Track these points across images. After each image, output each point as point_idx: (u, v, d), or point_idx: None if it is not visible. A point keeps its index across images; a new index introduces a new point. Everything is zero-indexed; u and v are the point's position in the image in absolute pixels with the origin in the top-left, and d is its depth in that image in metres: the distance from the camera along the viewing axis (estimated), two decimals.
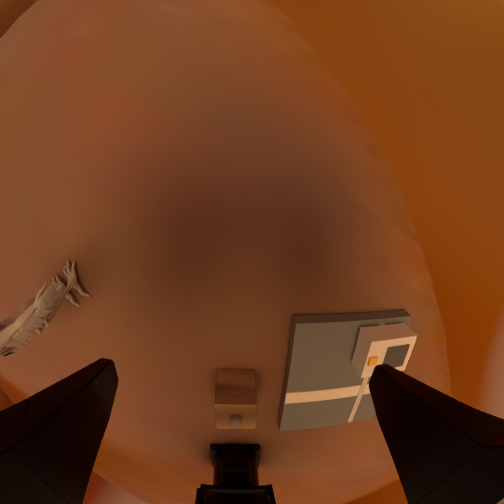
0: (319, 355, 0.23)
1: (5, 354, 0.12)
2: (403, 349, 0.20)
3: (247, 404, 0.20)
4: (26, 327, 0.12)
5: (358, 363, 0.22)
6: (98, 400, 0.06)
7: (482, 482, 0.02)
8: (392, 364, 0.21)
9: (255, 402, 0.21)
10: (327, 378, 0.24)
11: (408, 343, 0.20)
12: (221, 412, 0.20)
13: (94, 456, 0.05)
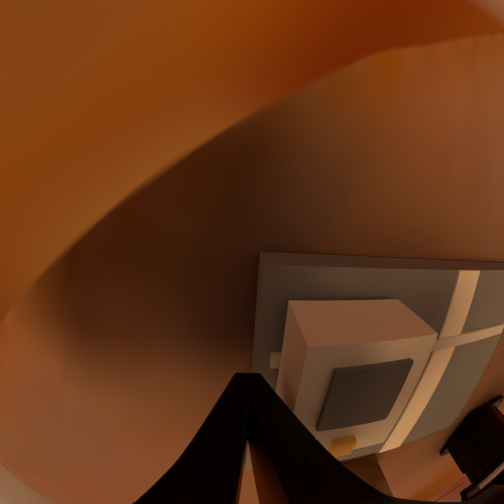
0: None
1: None
2: (344, 389, 0.06)
3: None
4: None
5: None
6: (248, 419, 0.06)
7: None
8: (386, 398, 0.06)
9: None
10: None
11: (329, 372, 0.06)
12: None
13: None
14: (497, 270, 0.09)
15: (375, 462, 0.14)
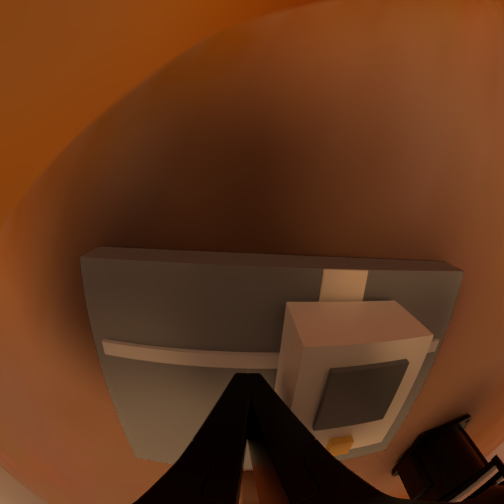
0: None
1: None
2: (340, 389, 0.06)
3: None
4: None
5: None
6: (248, 418, 0.06)
7: None
8: (382, 399, 0.06)
9: None
10: None
11: (325, 372, 0.06)
12: None
13: None
14: (410, 270, 0.09)
15: None
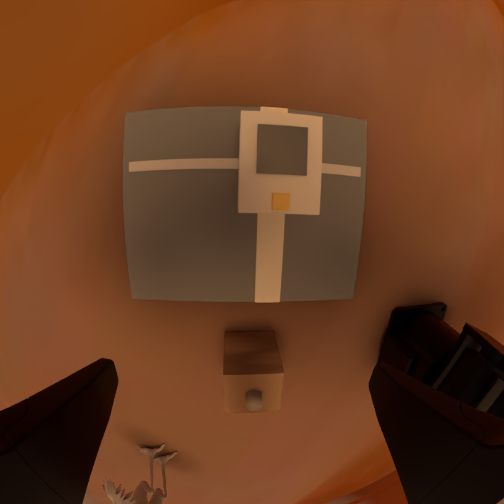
0: (180, 261, 0.16)
1: None
2: (265, 137, 0.12)
3: None
4: None
5: None
6: (98, 400, 0.06)
7: (482, 481, 0.02)
8: (298, 153, 0.12)
9: (223, 373, 0.15)
10: (228, 240, 0.16)
11: (255, 127, 0.12)
12: (242, 407, 0.16)
13: (94, 456, 0.05)
14: (319, 113, 0.15)
15: (272, 336, 0.19)
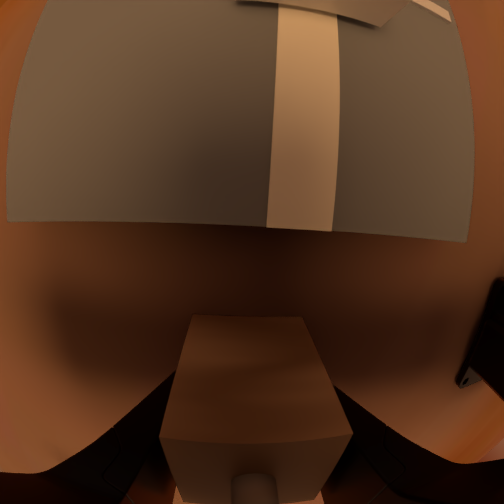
0: (91, 122, 0.06)
1: None
2: None
3: (166, 456, 0.04)
4: None
5: None
6: None
7: None
8: None
9: (162, 431, 0.04)
10: (207, 64, 0.05)
11: None
12: (224, 498, 0.05)
13: None
14: None
15: (301, 329, 0.08)
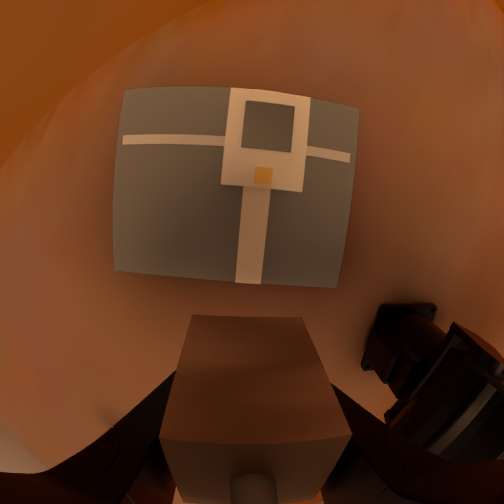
0: (163, 235, 0.16)
1: None
2: (252, 112, 0.12)
3: (166, 456, 0.04)
4: None
5: None
6: None
7: None
8: (284, 130, 0.12)
9: (161, 432, 0.04)
10: (212, 216, 0.16)
11: (243, 103, 0.12)
12: (223, 499, 0.05)
13: None
14: (311, 98, 0.15)
15: (301, 329, 0.08)
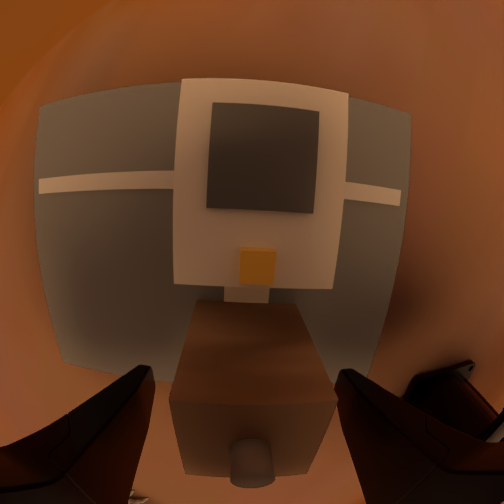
0: (113, 328, 0.10)
1: None
2: (228, 129, 0.06)
3: (173, 420, 0.05)
4: None
5: None
6: (140, 409, 0.06)
7: None
8: (298, 165, 0.06)
9: (171, 395, 0.05)
10: (179, 305, 0.10)
11: (208, 110, 0.06)
12: (223, 469, 0.06)
13: (135, 467, 0.05)
14: None
15: (294, 313, 0.09)
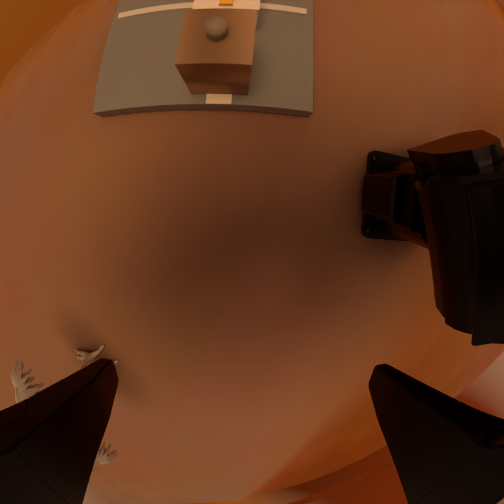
0: (142, 72, 0.14)
1: None
2: None
3: (183, 21, 0.09)
4: None
5: None
6: (98, 400, 0.06)
7: (482, 482, 0.02)
8: None
9: None
10: None
11: None
12: (199, 53, 0.10)
13: (94, 456, 0.05)
14: None
15: None
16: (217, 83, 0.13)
